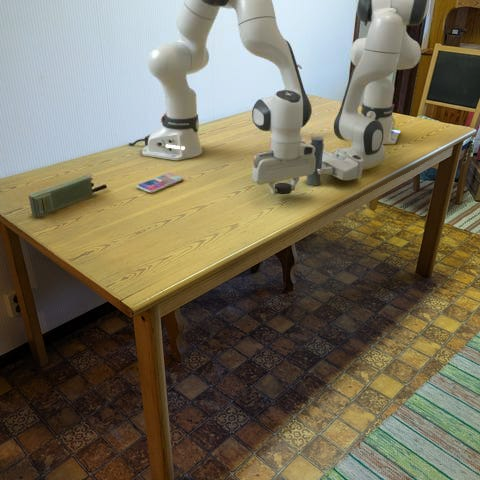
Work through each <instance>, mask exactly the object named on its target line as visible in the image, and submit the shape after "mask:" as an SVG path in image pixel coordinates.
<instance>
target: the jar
mask: <svg viewBox="0 0 480 480" xmlns="http://www.w3.org/2000/svg"><path fill="white" fill-rule="evenodd" d="M324 141H325V140H324V138H323V137H321V136H313V137H311V142H310V143H309V144H311V145H312V146H314V147H315V153H314V155H315V159H316V164H315V171H314V173H313V174H312V175H308V176H306V184H307V185H309V186H319V185H320V183H321V175H322V174H318V173H317V172H316V171H317V168H320V167H322V158H323V150H324V149H325V148H324V147H325V143H324Z"/></svg>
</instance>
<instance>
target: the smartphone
mask: <svg viewBox="0 0 480 480" xmlns="http://www.w3.org/2000/svg"><path fill="white" fill-rule="evenodd" d="M182 181H184V177H183V176H180V175H179V174H174V173H172V172H166V173H163V174H161V175H159V176H156V177H154V178H151V179H149V180H146V181H143V182H141V183H138V184H137V185H136V188H137V189H139V190H141V191H143V192H145V193H148V194H154V193H156V192H158V191H160V190H161V191H162V190H164V189H166V188H168V187H170V186H172V185H175V184H177V183H180V182H182Z"/></svg>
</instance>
